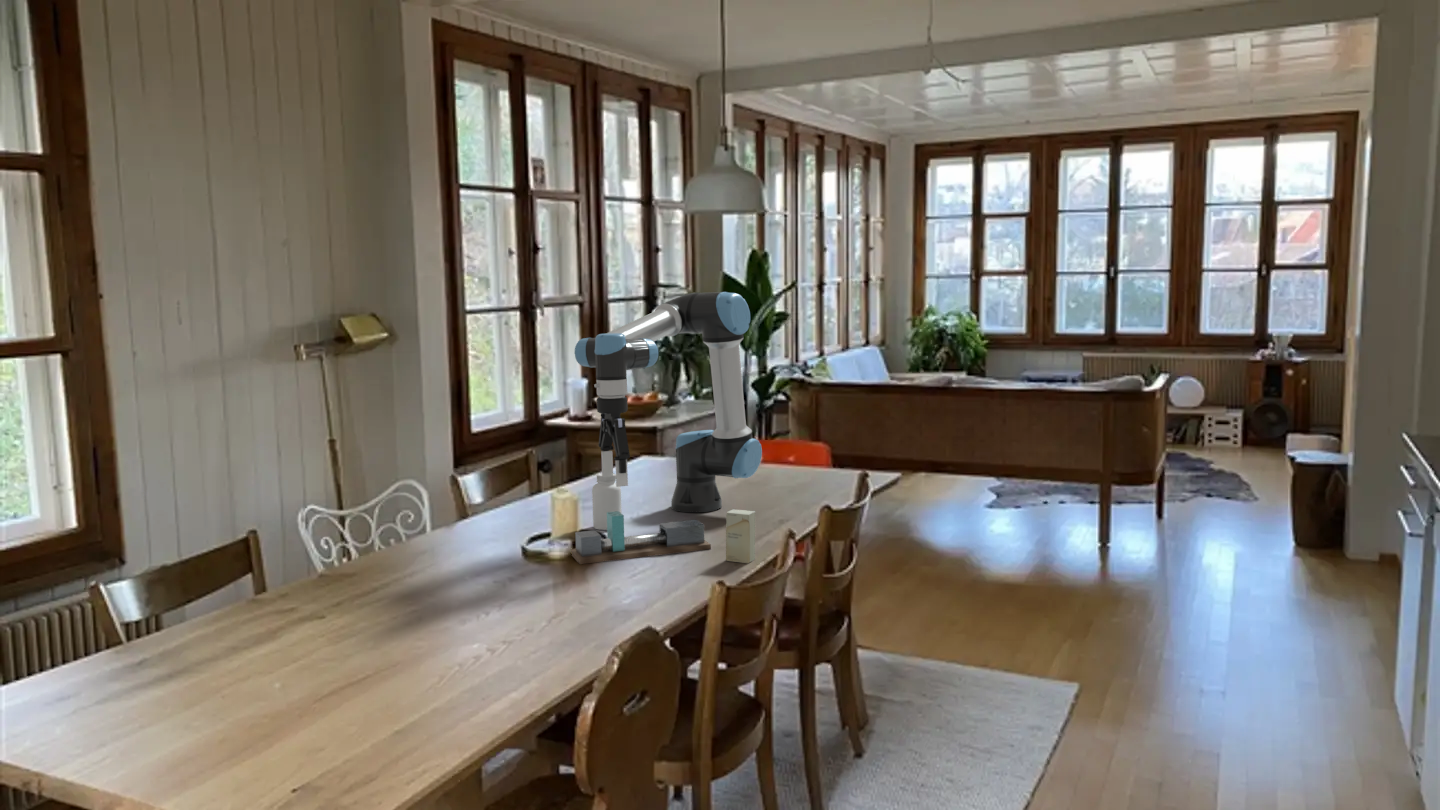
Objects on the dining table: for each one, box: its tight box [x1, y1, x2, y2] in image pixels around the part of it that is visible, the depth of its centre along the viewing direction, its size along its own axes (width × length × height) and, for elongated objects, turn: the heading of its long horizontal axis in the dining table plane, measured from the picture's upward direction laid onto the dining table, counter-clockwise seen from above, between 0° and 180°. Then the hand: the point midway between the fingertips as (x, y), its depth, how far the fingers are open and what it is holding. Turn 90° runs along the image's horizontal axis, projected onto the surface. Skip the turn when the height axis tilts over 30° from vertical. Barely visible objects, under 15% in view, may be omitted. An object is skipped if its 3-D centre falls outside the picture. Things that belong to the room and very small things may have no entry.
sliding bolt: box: [601, 511, 666, 552], centre depth 261 cm, size 23×5×9 cm, turn 111°
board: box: [570, 539, 712, 565], centre depth 263 cm, size 34×10×1 cm, turn 111°
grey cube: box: [575, 529, 602, 557], centre depth 258 cm, size 5×6×5 cm
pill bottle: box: [591, 472, 623, 531], centre depth 289 cm, size 8×8×15 cm
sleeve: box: [659, 519, 705, 547], centre depth 267 cm, size 10×6×5 cm, turn 111°
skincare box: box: [725, 508, 756, 564], centre depth 253 cm, size 6×4×12 cm
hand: (614, 481), depth 259 cm, fingers open, 13 cm apart
